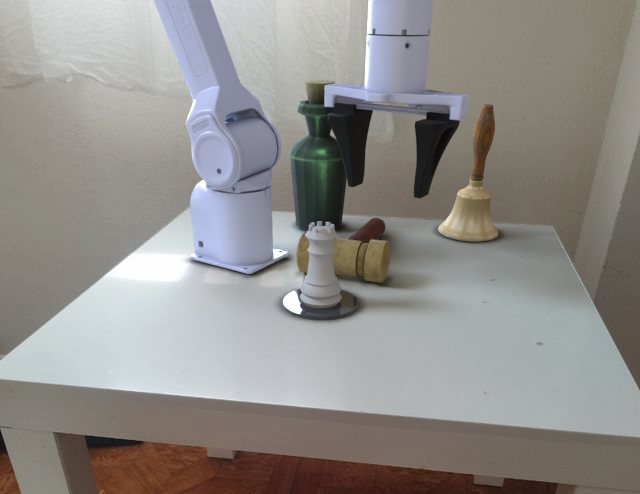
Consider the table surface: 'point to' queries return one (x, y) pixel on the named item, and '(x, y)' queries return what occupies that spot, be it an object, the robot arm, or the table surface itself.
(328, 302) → the rook chess piece
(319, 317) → the coaster
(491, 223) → the hand bell
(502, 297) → the table surface
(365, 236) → the gavel
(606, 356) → the table surface
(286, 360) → the table surface
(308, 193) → the potion bottle
